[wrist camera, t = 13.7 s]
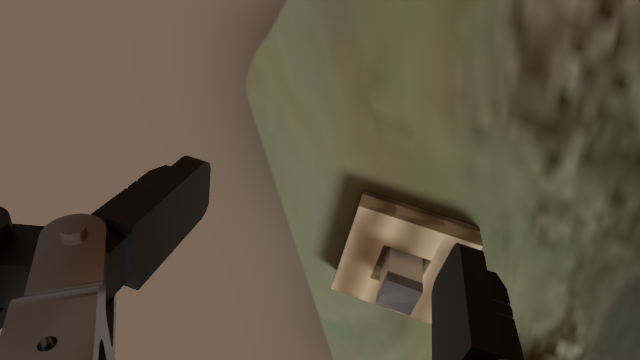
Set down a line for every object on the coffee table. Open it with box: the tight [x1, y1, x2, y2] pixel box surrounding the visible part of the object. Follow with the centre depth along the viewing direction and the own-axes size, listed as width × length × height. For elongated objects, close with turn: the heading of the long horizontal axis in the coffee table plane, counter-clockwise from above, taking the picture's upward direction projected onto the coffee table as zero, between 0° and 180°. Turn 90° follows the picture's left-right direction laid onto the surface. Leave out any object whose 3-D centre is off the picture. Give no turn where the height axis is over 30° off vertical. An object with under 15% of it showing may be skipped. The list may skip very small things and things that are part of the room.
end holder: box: [331, 190, 483, 324], centre depth 52 cm, size 16×16×4 cm
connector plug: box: [376, 247, 423, 316], centre depth 50 cm, size 5×5×8 cm
